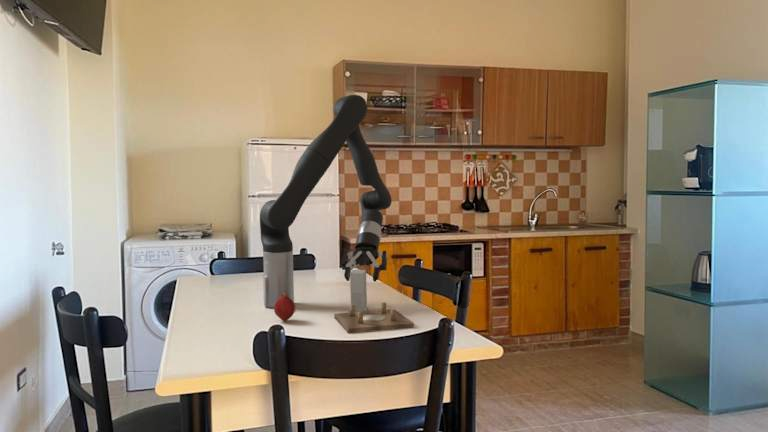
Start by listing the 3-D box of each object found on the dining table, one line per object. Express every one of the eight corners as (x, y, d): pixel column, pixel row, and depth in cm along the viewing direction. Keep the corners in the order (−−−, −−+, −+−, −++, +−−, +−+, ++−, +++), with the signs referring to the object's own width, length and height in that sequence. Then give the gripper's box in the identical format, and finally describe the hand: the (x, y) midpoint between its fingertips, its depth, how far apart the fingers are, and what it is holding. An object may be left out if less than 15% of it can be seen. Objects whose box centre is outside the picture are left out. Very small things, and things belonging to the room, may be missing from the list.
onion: (276, 318, 178) (276, 291, 177) (296, 318, 178) (296, 291, 177) (272, 323, 172) (271, 295, 172) (293, 323, 172) (292, 295, 171)
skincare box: (353, 308, 190) (352, 269, 190) (367, 308, 190) (366, 269, 189) (350, 312, 184) (349, 272, 183) (364, 312, 184) (364, 272, 183)
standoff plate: (348, 333, 161) (347, 317, 160) (334, 317, 178) (333, 303, 178) (413, 327, 166) (413, 311, 165) (394, 313, 183) (394, 299, 183)
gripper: (344, 230, 198) (335, 272, 188) (388, 231, 195) (381, 272, 185) (349, 245, 204) (340, 286, 193) (392, 245, 201) (385, 287, 191)
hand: (360, 279), depth 189 cm, fingers open, 8 cm apart
